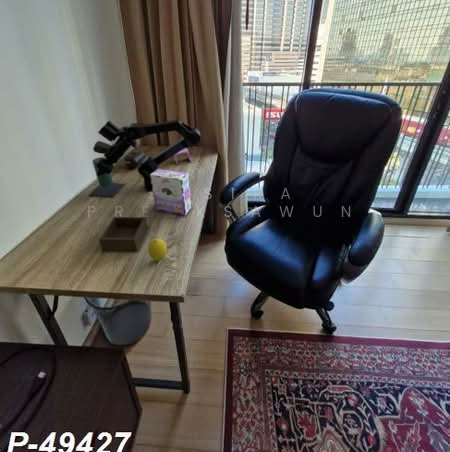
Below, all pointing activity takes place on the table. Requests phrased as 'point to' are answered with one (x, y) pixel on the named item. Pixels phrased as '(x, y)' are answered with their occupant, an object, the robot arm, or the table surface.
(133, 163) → the end cap
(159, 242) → the lemon
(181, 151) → the toy chair
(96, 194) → the mat
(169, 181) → the candy box
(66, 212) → the table surface
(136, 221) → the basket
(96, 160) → the tea tin
